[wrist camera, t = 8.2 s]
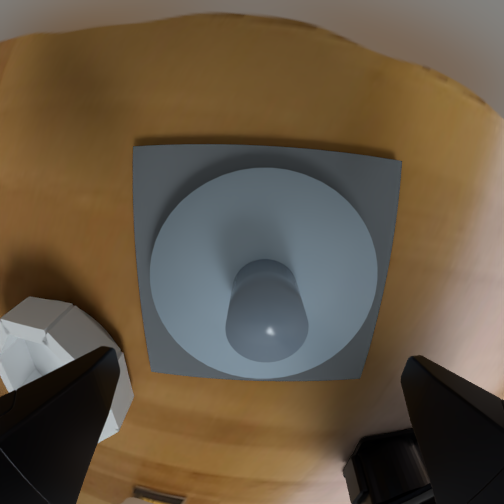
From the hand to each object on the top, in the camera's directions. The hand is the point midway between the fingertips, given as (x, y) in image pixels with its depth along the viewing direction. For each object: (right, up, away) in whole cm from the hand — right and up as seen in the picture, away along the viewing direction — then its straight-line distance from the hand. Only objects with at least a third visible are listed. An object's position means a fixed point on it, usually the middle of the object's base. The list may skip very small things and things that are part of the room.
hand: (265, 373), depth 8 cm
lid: (0, +2, +7) cm, 7 cm away
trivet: (0, +2, +7) cm, 8 cm away
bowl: (-13, -4, +9) cm, 17 cm away
